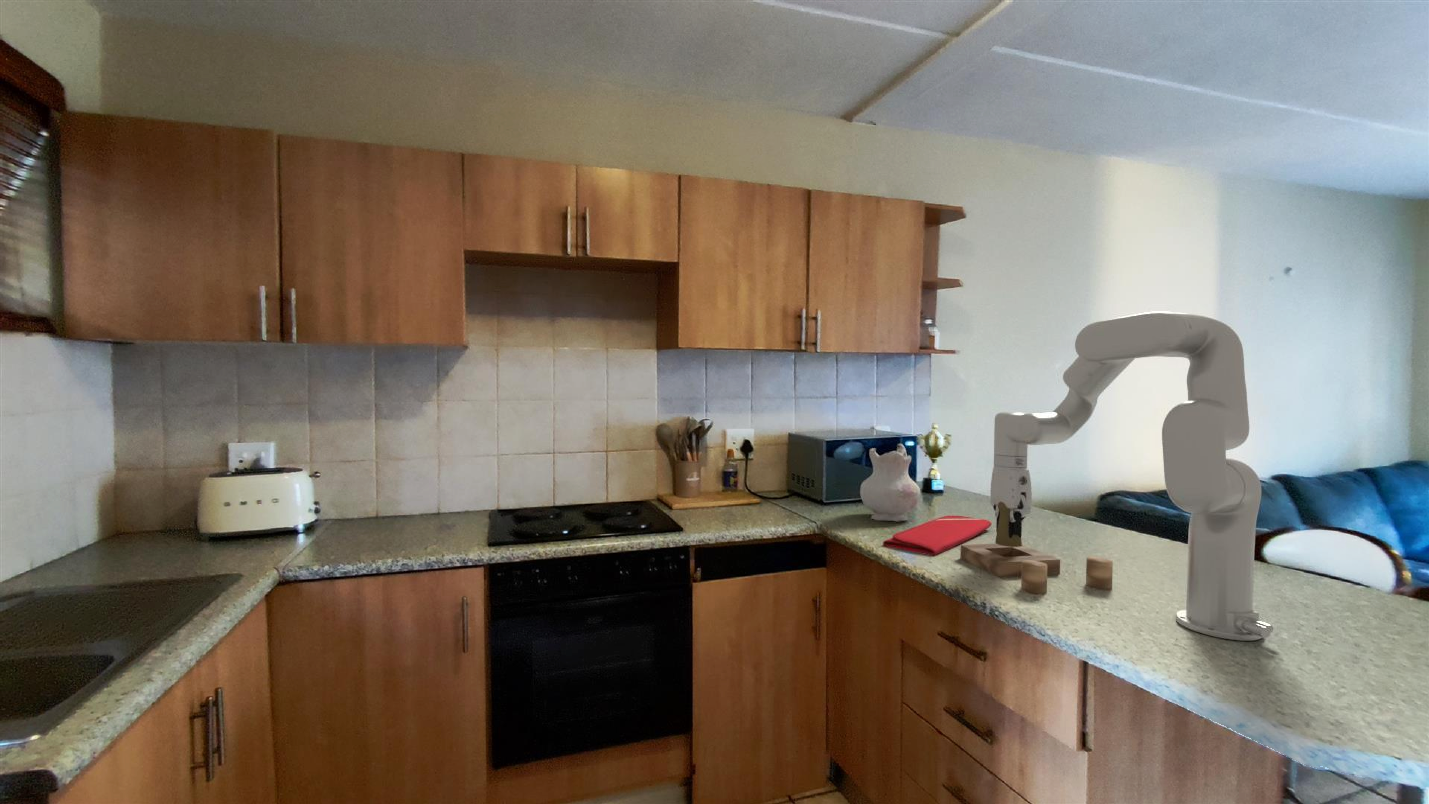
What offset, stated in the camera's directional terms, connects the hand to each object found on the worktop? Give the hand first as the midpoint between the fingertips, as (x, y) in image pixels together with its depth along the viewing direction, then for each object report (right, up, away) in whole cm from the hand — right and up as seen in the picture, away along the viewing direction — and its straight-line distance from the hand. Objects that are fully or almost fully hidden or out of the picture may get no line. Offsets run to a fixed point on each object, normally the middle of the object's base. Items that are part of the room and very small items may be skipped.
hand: (1008, 534), depth 153 cm
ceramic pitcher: (-14, -6, +56) cm, 58 cm away
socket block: (0, -8, 0) cm, 8 cm away
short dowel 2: (+13, -8, -15) cm, 22 cm away
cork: (0, -2, 0) cm, 2 cm away
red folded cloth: (-7, -8, +29) cm, 30 cm away
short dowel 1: (-3, -8, -18) cm, 20 cm away
